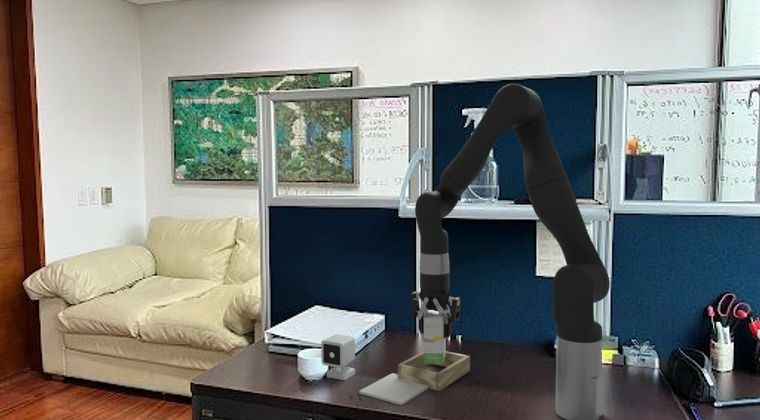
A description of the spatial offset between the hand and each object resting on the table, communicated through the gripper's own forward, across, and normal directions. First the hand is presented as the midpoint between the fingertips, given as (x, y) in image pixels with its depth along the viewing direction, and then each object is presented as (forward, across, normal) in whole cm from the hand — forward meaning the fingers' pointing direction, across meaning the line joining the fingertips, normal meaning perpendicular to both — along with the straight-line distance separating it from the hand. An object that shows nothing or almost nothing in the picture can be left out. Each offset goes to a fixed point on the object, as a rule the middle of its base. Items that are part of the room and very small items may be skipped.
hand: (434, 335), depth 149 cm
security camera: (+11, +20, +14) cm, 27 cm away
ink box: (+6, 0, 0) cm, 6 cm away
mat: (+11, +3, +13) cm, 17 cm away
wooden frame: (+11, 0, 0) cm, 11 cm away
